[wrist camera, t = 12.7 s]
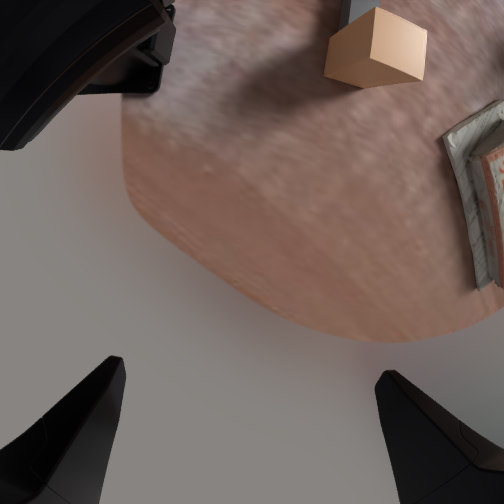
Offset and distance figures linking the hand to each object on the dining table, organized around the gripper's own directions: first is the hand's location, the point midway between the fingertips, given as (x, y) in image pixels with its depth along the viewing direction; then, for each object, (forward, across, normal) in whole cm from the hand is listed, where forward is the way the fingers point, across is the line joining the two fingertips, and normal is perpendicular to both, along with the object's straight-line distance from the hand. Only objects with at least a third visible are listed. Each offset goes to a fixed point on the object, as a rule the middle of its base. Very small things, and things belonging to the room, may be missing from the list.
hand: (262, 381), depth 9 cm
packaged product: (+14, -24, -7) cm, 28 cm away
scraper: (+13, -5, -20) cm, 25 cm away
